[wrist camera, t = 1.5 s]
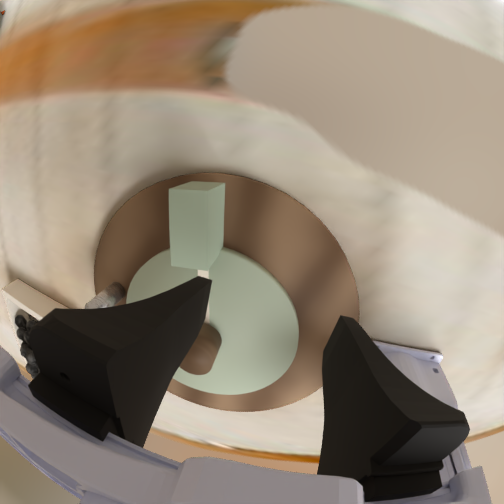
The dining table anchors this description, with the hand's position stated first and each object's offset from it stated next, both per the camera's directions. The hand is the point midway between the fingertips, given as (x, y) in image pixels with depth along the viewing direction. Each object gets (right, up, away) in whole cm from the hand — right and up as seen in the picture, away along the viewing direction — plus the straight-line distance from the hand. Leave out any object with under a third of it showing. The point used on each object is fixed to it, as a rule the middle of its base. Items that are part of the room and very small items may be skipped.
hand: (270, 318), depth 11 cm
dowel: (-13, -1, +14) cm, 19 cm away
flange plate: (-4, -2, +11) cm, 12 cm away
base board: (-4, -3, +13) cm, 14 cm away
